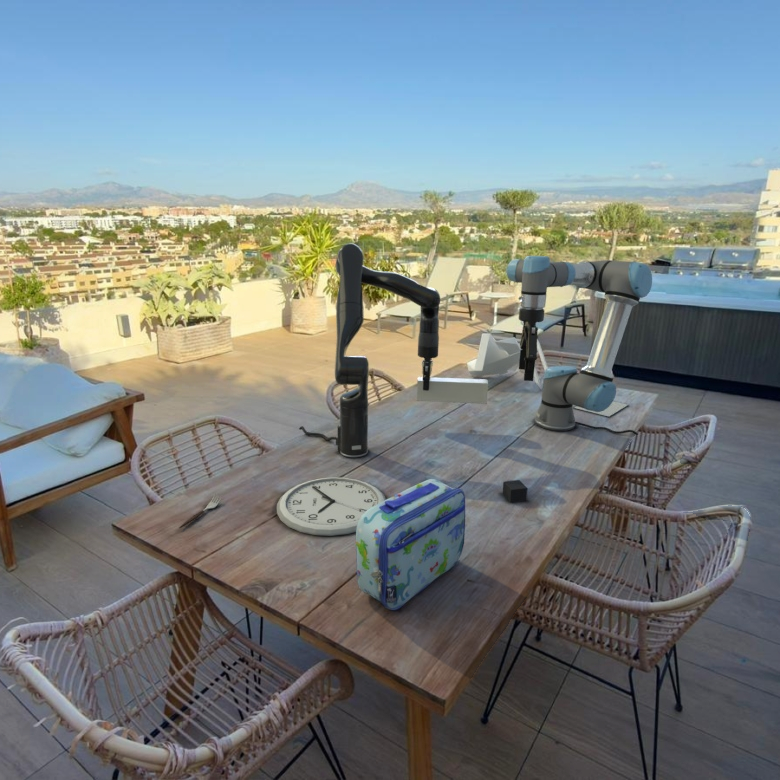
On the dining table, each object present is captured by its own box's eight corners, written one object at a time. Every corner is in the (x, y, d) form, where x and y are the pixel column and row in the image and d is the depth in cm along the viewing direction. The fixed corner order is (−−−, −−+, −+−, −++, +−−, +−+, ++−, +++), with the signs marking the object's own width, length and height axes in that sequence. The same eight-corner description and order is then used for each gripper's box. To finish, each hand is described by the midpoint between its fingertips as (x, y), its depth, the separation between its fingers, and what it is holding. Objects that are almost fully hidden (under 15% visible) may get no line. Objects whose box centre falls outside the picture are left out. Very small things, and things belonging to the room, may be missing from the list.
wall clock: (392, 527, 129) (268, 531, 127) (391, 533, 130) (269, 537, 127) (383, 473, 158) (282, 475, 155) (383, 478, 158) (282, 480, 156)
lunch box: (385, 624, 100) (387, 528, 94) (349, 596, 108) (348, 506, 101) (468, 566, 118) (474, 482, 112) (432, 545, 125) (436, 466, 119)
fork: (174, 529, 130) (174, 521, 130) (216, 499, 144) (215, 492, 144) (183, 531, 129) (182, 524, 129) (223, 501, 144) (223, 494, 143)
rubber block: (518, 492, 152) (519, 479, 150) (526, 500, 147) (527, 488, 146) (502, 494, 151) (503, 481, 149) (509, 502, 146) (511, 489, 145)
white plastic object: (487, 418, 267) (468, 395, 242) (469, 346, 289) (449, 318, 264) (558, 394, 255) (545, 368, 230) (533, 321, 277) (518, 289, 252)
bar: (485, 399, 199) (487, 379, 196) (486, 403, 194) (488, 383, 192) (417, 396, 201) (417, 376, 198) (416, 401, 196) (417, 380, 194)
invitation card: (608, 416, 214) (573, 407, 224) (608, 416, 214) (573, 408, 224) (628, 404, 229) (594, 396, 238) (628, 405, 229) (594, 397, 238)
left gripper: (419, 339, 199) (417, 382, 204) (416, 347, 185) (415, 393, 190) (439, 340, 198) (436, 383, 203) (438, 348, 184) (435, 394, 190)
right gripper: (515, 302, 172) (509, 364, 179) (524, 313, 149) (517, 385, 155) (538, 302, 171) (532, 365, 178) (551, 314, 148) (543, 386, 154)
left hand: (426, 387), depth 197 cm, fingers closed on bar, 5 cm apart
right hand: (525, 374), depth 166 cm, fingers open, 13 cm apart
